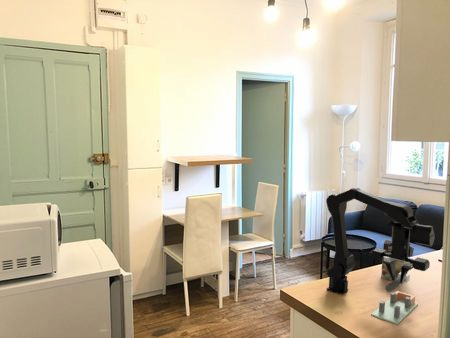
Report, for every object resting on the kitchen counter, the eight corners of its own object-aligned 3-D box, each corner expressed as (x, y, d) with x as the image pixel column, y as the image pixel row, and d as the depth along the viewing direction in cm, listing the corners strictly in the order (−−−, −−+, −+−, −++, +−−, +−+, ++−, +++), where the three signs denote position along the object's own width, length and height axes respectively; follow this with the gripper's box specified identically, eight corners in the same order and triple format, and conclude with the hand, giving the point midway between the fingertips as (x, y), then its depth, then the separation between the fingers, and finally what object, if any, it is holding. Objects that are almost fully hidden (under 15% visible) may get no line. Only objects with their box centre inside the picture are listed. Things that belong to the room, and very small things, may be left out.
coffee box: (380, 278, 164) (382, 243, 163) (382, 273, 170) (385, 239, 168) (403, 283, 160) (405, 246, 158) (404, 278, 165) (407, 243, 163)
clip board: (371, 315, 130) (371, 304, 130) (393, 297, 145) (393, 287, 145) (397, 324, 124) (398, 313, 124) (417, 304, 139) (418, 294, 139)
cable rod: (382, 291, 129) (383, 284, 128) (400, 278, 141) (400, 272, 141) (392, 294, 126) (392, 287, 126) (409, 280, 139) (409, 274, 139)
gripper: (435, 241, 132) (432, 283, 133) (382, 230, 145) (380, 269, 146) (426, 247, 124) (422, 292, 126) (371, 236, 137) (368, 276, 138)
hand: (397, 281), depth 134 cm, fingers closed on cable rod, 2 cm apart
